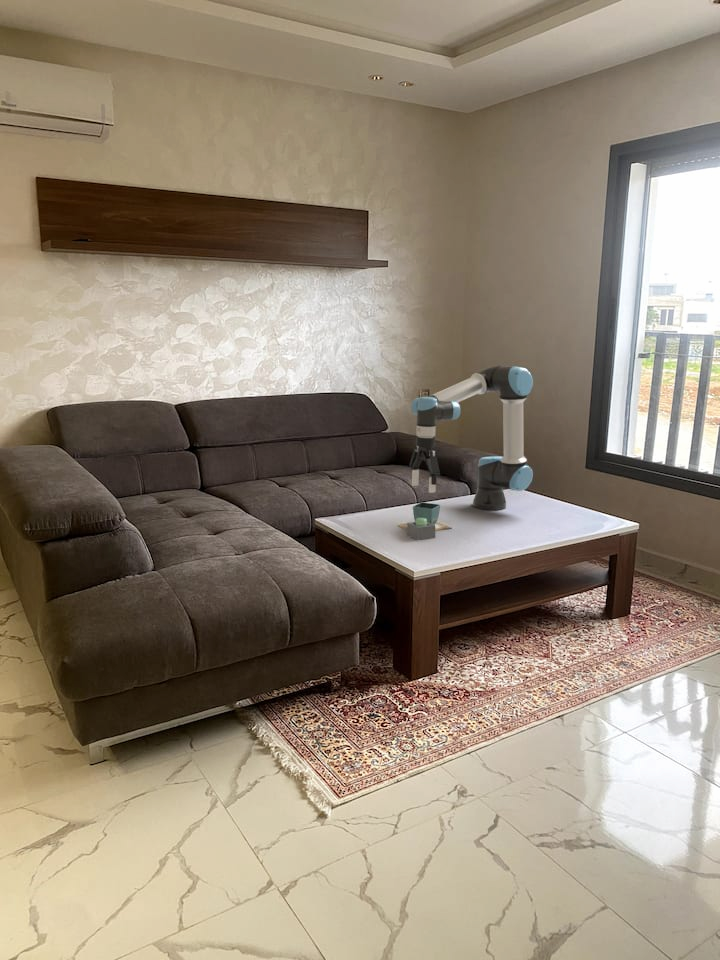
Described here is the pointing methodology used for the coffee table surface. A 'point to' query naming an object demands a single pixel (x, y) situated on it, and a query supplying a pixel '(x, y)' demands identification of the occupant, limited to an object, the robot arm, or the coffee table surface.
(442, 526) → the board
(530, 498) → the coffee table surface
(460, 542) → the coffee table surface
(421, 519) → the button
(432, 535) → the button box
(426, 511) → the flower pot
